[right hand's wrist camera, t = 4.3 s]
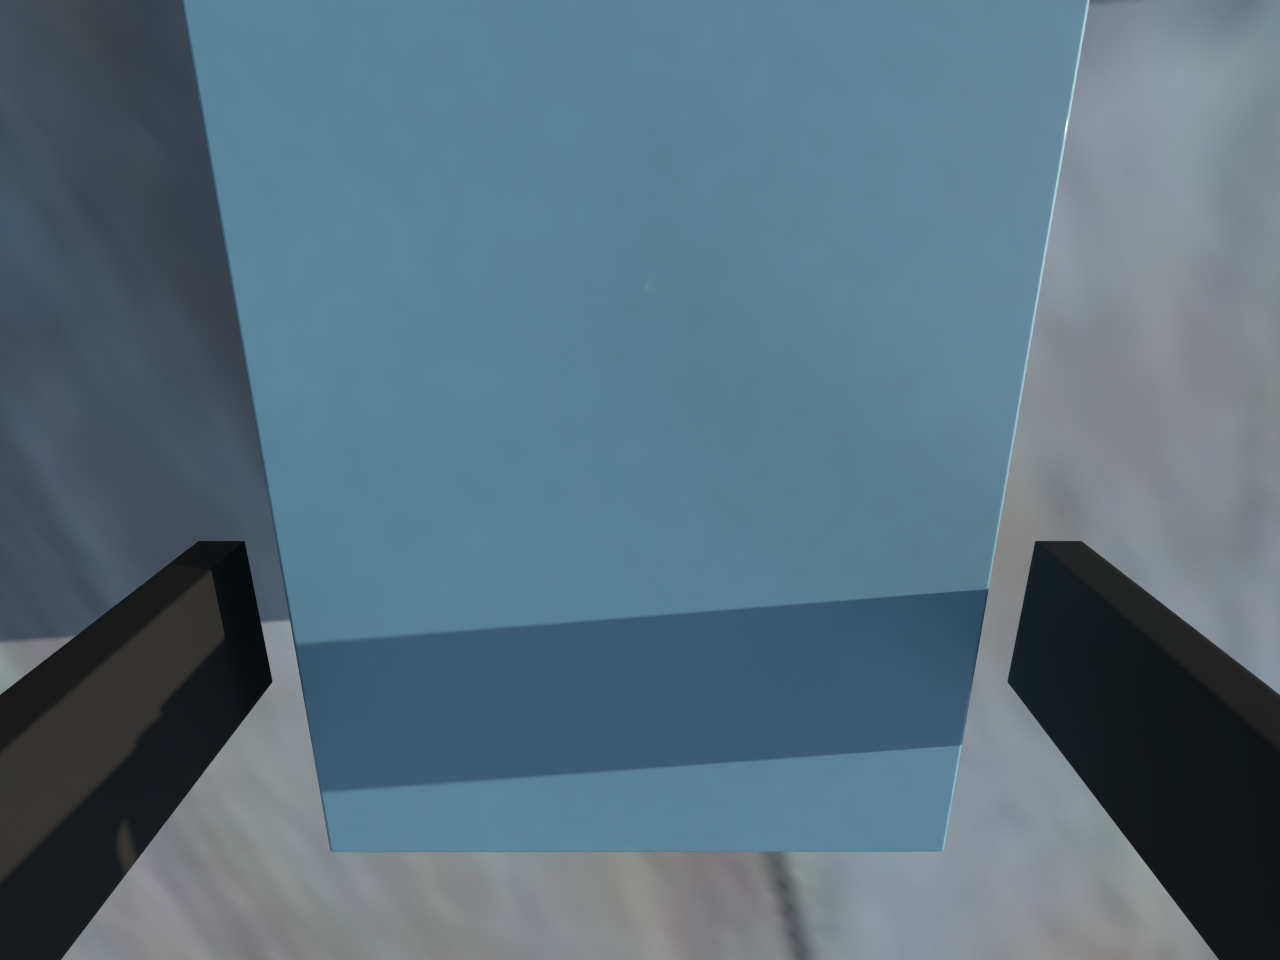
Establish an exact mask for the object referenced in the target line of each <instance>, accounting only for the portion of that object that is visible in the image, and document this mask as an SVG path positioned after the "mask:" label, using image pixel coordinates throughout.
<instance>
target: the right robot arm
mask: <svg viewBox="0 0 1280 960" xmlns="http://www.w3.org/2000/svg"><path fill="white" fill-rule="evenodd" d="M271 683H272V677H271V672H270V667H269V662H268V657H267V652H266V647H265V642H264V637H263V632H262V627H261V621H260V616H259V611H258V606H257V601H256V596H255V591H254V586H253V581H252V576H251V571H250V566H249V561H248V556H247V551H246V546H245V541H198V542H197V543H195V544H194V545H193V546H192V547H190V548H189V549H188V550H186V551H185V552H184V553H183V554H181V555H180V556H179V557H177V558H176V559H175V560H174V561H172V562H171V563H170V564H168V565H167V566H166V567H165V568H163V569H162V570H161V571H159V572H158V573H157V574H156V575H154V576H153V577H152V578H150V579H149V580H148V581H146V582H145V583H144V584H143V585H141V586H140V587H139V588H137V589H136V590H135V591H134V592H132V593H131V594H130V595H128V596H127V597H126V598H125V599H123V600H122V601H121V602H119V603H118V604H117V605H116V606H114V607H113V608H112V609H110V610H109V611H108V612H107V613H105V614H104V615H103V616H101V617H100V618H99V619H97V620H96V621H95V622H94V623H92V624H91V625H90V626H88V627H87V628H86V629H85V630H83V631H82V632H81V633H79V634H78V635H77V636H76V637H74V638H73V639H72V640H70V641H69V642H68V643H67V644H65V645H64V646H63V647H61V648H60V649H59V650H58V651H56V652H55V653H54V654H52V655H51V656H50V657H48V658H47V659H46V660H45V661H43V662H42V663H41V664H39V665H38V666H37V667H36V668H34V669H33V670H32V671H30V672H29V673H28V674H27V675H25V676H24V677H23V678H21V679H20V680H19V681H18V682H16V683H15V684H14V685H12V686H11V687H10V688H9V689H7V690H6V691H5V692H3V693H2V694H1V695H0V960H61V959H62V958H63V956H64V955H65V954H66V952H67V951H68V950H69V948H70V947H71V946H72V944H73V943H74V942H75V941H76V939H77V938H78V937H79V935H80V934H81V933H82V931H83V930H84V929H85V927H86V926H87V925H88V923H89V922H90V921H91V920H92V918H93V917H94V916H95V914H96V913H97V912H98V910H99V909H100V908H101V906H102V905H103V904H104V902H105V901H106V900H107V898H108V897H109V896H110V895H111V893H112V892H113V891H114V889H115V888H116V887H117V885H118V884H119V883H120V881H121V880H122V879H123V877H124V876H125V875H126V874H127V872H128V871H129V870H130V868H131V867H132V866H133V864H134V863H135V862H136V860H137V859H138V858H139V856H140V855H141V854H142V852H143V851H144V850H145V849H146V847H147V846H148V845H149V843H150V842H151V841H152V839H153V838H154V837H155V835H156V834H157V833H158V831H159V830H160V829H161V828H162V826H163V825H164V824H165V822H166V821H167V820H168V818H169V817H170V816H171V814H172V813H173V812H174V810H175V809H176V808H177V806H178V805H179V804H180V803H181V801H182V800H183V799H184V797H185V796H186V795H187V793H188V792H189V791H190V789H191V788H192V787H193V785H194V784H195V783H196V782H197V780H198V779H199V778H200V776H201V775H202V774H203V772H204V771H205V770H206V768H207V767H208V766H209V764H210V763H211V762H212V761H213V759H214V758H215V757H216V755H217V754H218V753H219V751H220V750H221V749H222V747H223V746H224V745H225V743H226V742H227V741H228V739H229V738H230V737H231V736H232V734H233V733H234V732H235V730H236V729H237V728H238V726H239V725H240V724H241V722H242V721H243V720H244V718H245V717H246V716H247V715H248V713H249V712H250V711H251V709H252V708H253V707H254V705H255V704H256V703H257V701H258V700H259V699H260V697H261V696H262V695H263V693H264V692H265V691H266V690H267V688H268V687H269V686H270V684H271ZM1008 683H1009V684H1010V686H1011V687H1012V688H1013V690H1014V691H1015V692H1016V693H1017V695H1018V696H1019V697H1020V699H1021V700H1022V701H1023V703H1024V704H1025V705H1026V707H1027V708H1028V709H1029V711H1030V712H1031V713H1032V715H1033V716H1034V717H1035V718H1036V720H1037V721H1038V722H1039V724H1040V725H1041V726H1042V728H1043V729H1044V730H1045V732H1046V733H1047V734H1048V736H1049V737H1050V738H1051V739H1052V741H1053V742H1054V743H1055V745H1056V746H1057V747H1058V749H1059V750H1060V751H1061V753H1062V754H1063V755H1064V757H1065V758H1066V759H1067V761H1068V762H1069V763H1070V764H1071V766H1072V767H1073V768H1074V770H1075V771H1076V772H1077V774H1078V775H1079V776H1080V778H1081V779H1082V780H1083V782H1084V783H1085V784H1086V785H1087V787H1088V788H1089V789H1090V791H1091V792H1092V793H1093V795H1094V796H1095V797H1096V799H1097V800H1098V801H1099V803H1100V804H1101V805H1102V807H1103V808H1104V809H1105V810H1106V812H1107V813H1108V814H1109V816H1110V817H1111V818H1112V820H1113V821H1114V822H1115V824H1116V825H1117V826H1118V828H1119V829H1120V830H1121V831H1122V833H1123V834H1124V835H1125V837H1126V838H1127V839H1128V841H1129V842H1130V843H1131V845H1132V846H1133V847H1134V849H1135V850H1136V851H1137V852H1138V854H1139V855H1140V856H1141V858H1142V859H1143V860H1144V862H1145V863H1146V864H1147V866H1148V867H1149V868H1150V870H1151V871H1152V872H1153V874H1154V875H1155V876H1156V877H1157V879H1158V880H1159V881H1160V883H1161V884H1162V885H1163V887H1164V888H1165V889H1166V891H1167V892H1168V893H1169V895H1170V896H1171V897H1172V898H1173V900H1174V901H1175V902H1176V904H1177V905H1178V906H1179V908H1180V909H1181V910H1182V912H1183V913H1184V914H1185V916H1186V917H1187V918H1188V920H1189V921H1190V922H1191V923H1192V925H1193V926H1194V927H1195V929H1196V930H1197V931H1198V933H1199V934H1200V935H1201V937H1202V938H1203V939H1204V941H1205V942H1206V943H1207V944H1208V946H1209V947H1210V948H1211V950H1212V951H1213V952H1214V954H1215V955H1216V956H1217V958H1218V959H1219V960H1280V695H1279V694H1278V693H1277V692H1275V691H1274V690H1273V689H1271V688H1270V687H1269V686H1268V685H1266V684H1265V683H1264V682H1262V681H1261V680H1260V679H1259V678H1257V677H1256V676H1255V675H1253V674H1252V673H1251V672H1250V671H1248V670H1247V669H1246V668H1244V667H1243V666H1242V665H1241V664H1239V663H1238V662H1237V661H1235V660H1234V659H1233V658H1232V657H1230V656H1229V655H1228V654H1226V653H1225V652H1224V651H1222V650H1221V649H1220V648H1219V647H1217V646H1216V645H1215V644H1213V643H1212V642H1211V641H1210V640H1208V639H1207V638H1206V637H1204V636H1203V635H1202V634H1201V633H1199V632H1198V631H1197V630H1195V629H1194V628H1193V627H1192V626H1190V625H1189V624H1188V623H1186V622H1185V621H1184V620H1183V619H1181V618H1180V617H1179V616H1177V615H1176V614H1175V613H1173V612H1172V611H1171V610H1170V609H1168V608H1167V607H1166V606H1164V605H1163V604H1162V603H1161V602H1159V601H1158V600H1157V599H1155V598H1154V597H1153V596H1152V595H1150V594H1149V593H1148V592H1146V591H1145V590H1144V589H1143V588H1141V587H1140V586H1139V585H1137V584H1136V583H1135V582H1134V581H1132V580H1131V579H1130V578H1128V577H1127V576H1126V575H1124V574H1123V573H1122V572H1121V571H1119V570H1118V569H1117V568H1115V567H1114V566H1113V565H1112V564H1110V563H1109V562H1108V561H1106V560H1105V559H1104V558H1103V557H1101V556H1100V555H1099V554H1097V553H1096V552H1095V551H1094V550H1092V549H1091V548H1090V547H1088V546H1087V545H1086V544H1085V543H1083V542H1082V541H1035V546H1034V551H1033V556H1032V561H1031V566H1030V571H1029V576H1028V581H1027V586H1026V591H1025V596H1024V601H1023V606H1022V611H1021V616H1020V621H1019V627H1018V632H1017V637H1016V642H1015V647H1014V652H1013V657H1012V662H1011V667H1010V672H1009V677H1008Z"/></svg>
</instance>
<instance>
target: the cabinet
mask: <svg viewBox="0 0 1280 960" xmlns="http://www.w3.org/2000/svg"><path fill="white" fill-rule="evenodd" d="M1089 1H1090V0H182V5H183V11H184V17H185V22H186V28H187V34H188V40H189V45H190V51H191V57H192V62H193V68H194V74H195V80H196V85H197V91H198V97H199V102H200V108H201V114H202V120H203V125H204V131H205V137H206V142H207V148H208V154H209V160H210V165H211V171H212V177H213V182H214V188H215V194H216V199H217V205H218V211H219V217H220V222H221V228H222V234H223V239H224V245H225V251H226V257H227V262H228V268H229V274H230V279H231V285H232V291H233V297H234V302H235V308H236V314H237V319H238V325H239V331H240V337H241V342H242V348H243V354H244V359H245V365H246V371H247V377H248V382H249V388H250V394H251V399H252V405H253V411H254V417H255V422H256V428H257V434H258V439H259V445H260V451H261V457H262V462H263V468H264V474H265V479H266V485H267V491H268V496H269V502H270V508H271V514H272V519H273V525H274V531H275V536H276V542H277V548H278V554H279V559H280V565H281V571H282V576H283V582H284V588H285V594H286V599H287V605H288V611H289V616H290V622H291V628H292V634H293V639H294V645H295V651H296V656H297V662H298V668H299V674H300V679H301V685H302V691H303V696H304V702H305V708H306V714H307V719H308V725H309V731H310V736H311V742H312V748H313V754H314V759H315V765H316V771H317V776H318V782H319V788H320V793H321V799H322V805H323V811H324V816H325V822H326V828H327V833H328V839H329V845H330V850H331V851H332V852H882V851H943V850H944V845H945V839H946V834H947V828H948V822H949V816H950V810H951V804H952V799H953V793H954V787H955V781H956V775H957V769H958V764H959V758H960V752H961V746H962V740H963V735H964V729H965V723H966V717H967V711H968V705H969V700H970V694H971V688H972V682H973V676H974V670H975V665H976V659H977V653H978V647H979V641H980V636H981V630H982V624H983V618H984V612H985V606H986V601H987V595H988V589H989V583H990V577H991V571H992V566H993V560H994V554H995V548H996V542H997V537H998V531H999V525H1000V519H1001V513H1002V507H1003V502H1004V496H1005V490H1006V484H1007V478H1008V472H1009V467H1010V461H1011V455H1012V449H1013V443H1014V438H1015V432H1016V426H1017V420H1018V414H1019V408H1020V403H1021V397H1022V391H1023V385H1024V379H1025V373H1026V368H1027V362H1028V356H1029V350H1030V344H1031V339H1032V333H1033V327H1034V321H1035V315H1036V309H1037V304H1038V298H1039V292H1040V286H1041V280H1042V274H1043V269H1044V263H1045V257H1046V251H1047V245H1048V240H1049V234H1050V228H1051V222H1052V216H1053V210H1054V205H1055V199H1056V193H1057V187H1058V181H1059V175H1060V170H1061V164H1062V158H1063V152H1064V146H1065V141H1066V135H1067V129H1068V123H1069V117H1070V111H1071V106H1072V100H1073V94H1074V88H1075V82H1076V76H1077V71H1078V65H1079V59H1080V53H1081V47H1082V42H1083V36H1084V30H1085V24H1086V18H1087V12H1088V7H1089Z"/></svg>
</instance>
